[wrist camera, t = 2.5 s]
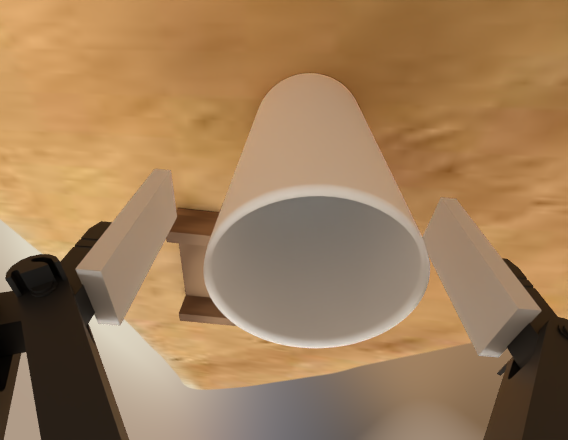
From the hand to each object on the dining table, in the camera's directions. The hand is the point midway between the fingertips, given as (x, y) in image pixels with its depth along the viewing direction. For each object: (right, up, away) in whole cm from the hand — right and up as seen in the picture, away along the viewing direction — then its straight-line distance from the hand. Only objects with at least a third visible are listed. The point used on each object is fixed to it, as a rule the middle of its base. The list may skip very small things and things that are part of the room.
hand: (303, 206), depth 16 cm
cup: (+1, +6, +9) cm, 11 cm away
